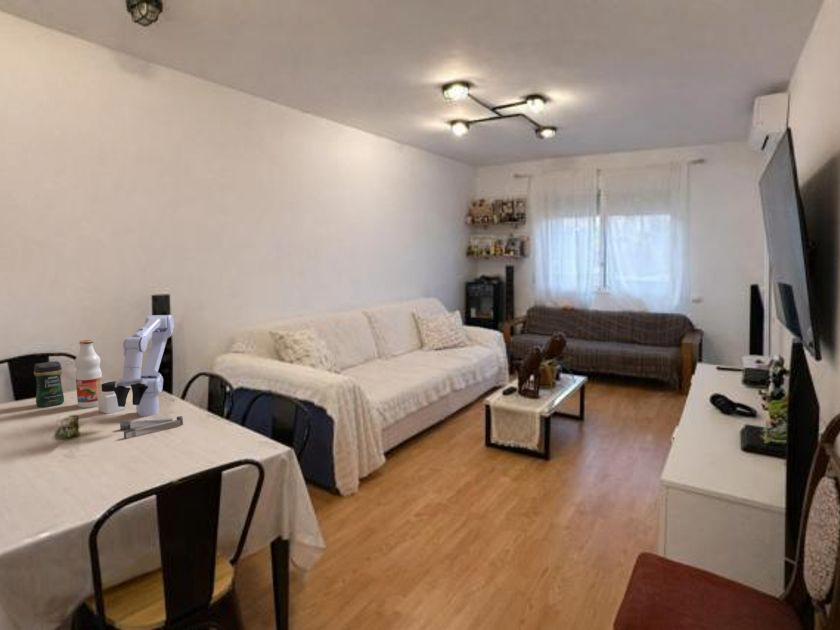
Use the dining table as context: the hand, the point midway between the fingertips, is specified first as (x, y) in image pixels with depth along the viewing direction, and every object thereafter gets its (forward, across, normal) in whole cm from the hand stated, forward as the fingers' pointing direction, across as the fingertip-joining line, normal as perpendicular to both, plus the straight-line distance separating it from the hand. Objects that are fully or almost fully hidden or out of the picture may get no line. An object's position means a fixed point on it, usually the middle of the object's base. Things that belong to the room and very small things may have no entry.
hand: (128, 405), depth 181 cm
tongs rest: (+10, +6, +5) cm, 13 cm away
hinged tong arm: (+8, +4, +5) cm, 10 cm away
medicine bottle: (-1, -31, +16) cm, 35 cm away
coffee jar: (-6, -62, +10) cm, 63 cm away
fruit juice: (-5, -46, +17) cm, 49 cm away
